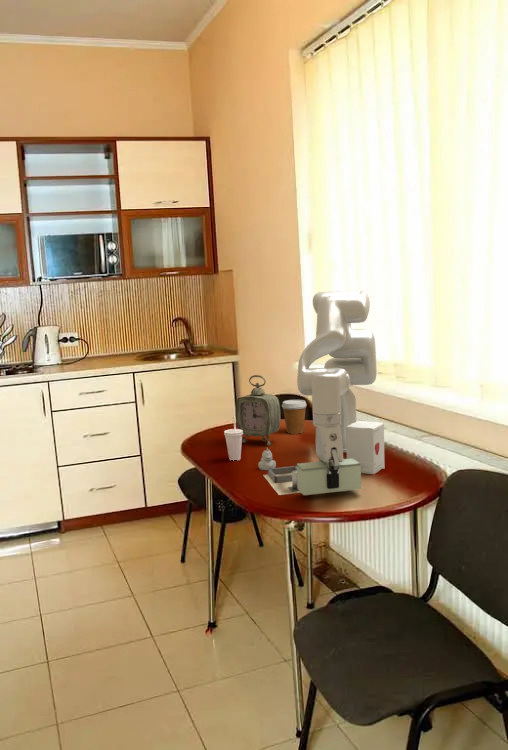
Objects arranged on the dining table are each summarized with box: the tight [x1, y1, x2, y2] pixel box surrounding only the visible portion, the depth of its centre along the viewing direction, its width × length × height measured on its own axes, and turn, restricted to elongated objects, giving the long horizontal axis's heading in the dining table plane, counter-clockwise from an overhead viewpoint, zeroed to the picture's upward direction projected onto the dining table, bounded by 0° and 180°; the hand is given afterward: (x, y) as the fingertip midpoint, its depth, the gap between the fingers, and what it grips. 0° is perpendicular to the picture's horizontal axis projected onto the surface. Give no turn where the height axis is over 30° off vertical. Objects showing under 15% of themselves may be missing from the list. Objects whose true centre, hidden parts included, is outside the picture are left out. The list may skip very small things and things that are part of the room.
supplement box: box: [346, 420, 385, 475], centre depth 212 cm, size 9×9×15 cm
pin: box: [292, 470, 298, 490], centre depth 196 cm, size 2×2×5 cm
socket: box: [267, 465, 297, 483], centre depth 208 cm, size 9×9×2 cm
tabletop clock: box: [235, 374, 281, 447], centre depth 255 cm, size 14×9×25 cm, turn 56°
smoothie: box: [223, 417, 244, 462], centre depth 235 cm, size 6×6×14 cm
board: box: [262, 473, 302, 496], centre depth 204 cm, size 22×20×1 cm
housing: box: [296, 458, 362, 496], centre depth 189 cm, size 16×6×7 cm, turn 102°
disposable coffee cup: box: [281, 399, 308, 435], centre depth 270 cm, size 10×10×12 cm
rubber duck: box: [258, 447, 277, 471], centre depth 219 cm, size 5×7×8 cm
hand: (329, 483), depth 190 cm, fingers closed on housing, 6 cm apart
